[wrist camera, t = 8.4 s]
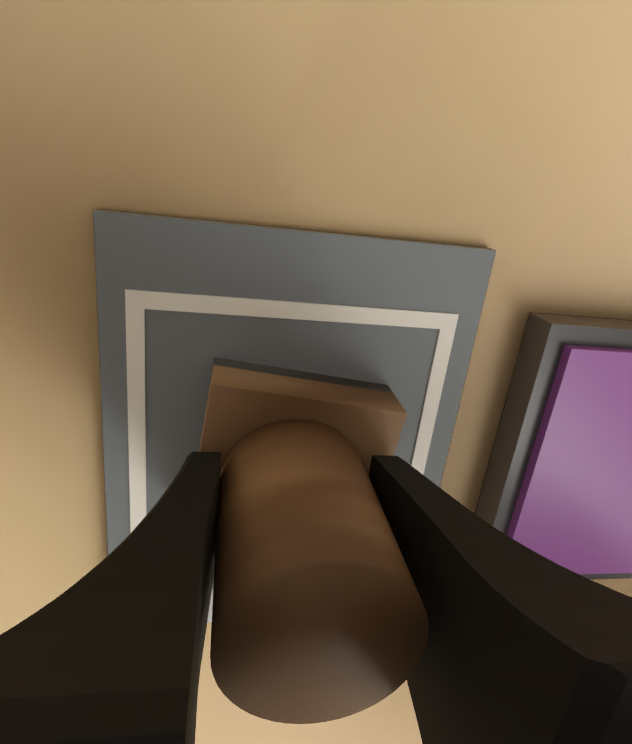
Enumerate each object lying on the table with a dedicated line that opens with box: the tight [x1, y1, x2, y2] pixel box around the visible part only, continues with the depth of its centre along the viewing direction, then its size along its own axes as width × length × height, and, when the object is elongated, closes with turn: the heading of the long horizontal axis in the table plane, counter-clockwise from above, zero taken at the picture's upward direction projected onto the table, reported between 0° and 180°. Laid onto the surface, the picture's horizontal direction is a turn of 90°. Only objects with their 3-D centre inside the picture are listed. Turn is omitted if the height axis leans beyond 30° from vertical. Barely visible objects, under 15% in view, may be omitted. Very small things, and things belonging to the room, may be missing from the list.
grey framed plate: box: [93, 209, 496, 622], centre depth 13 cm, size 9×11×1 cm
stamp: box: [198, 357, 429, 724], centre depth 11 cm, size 4×4×6 cm
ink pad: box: [475, 313, 632, 579], centre depth 15 cm, size 7×8×1 cm
